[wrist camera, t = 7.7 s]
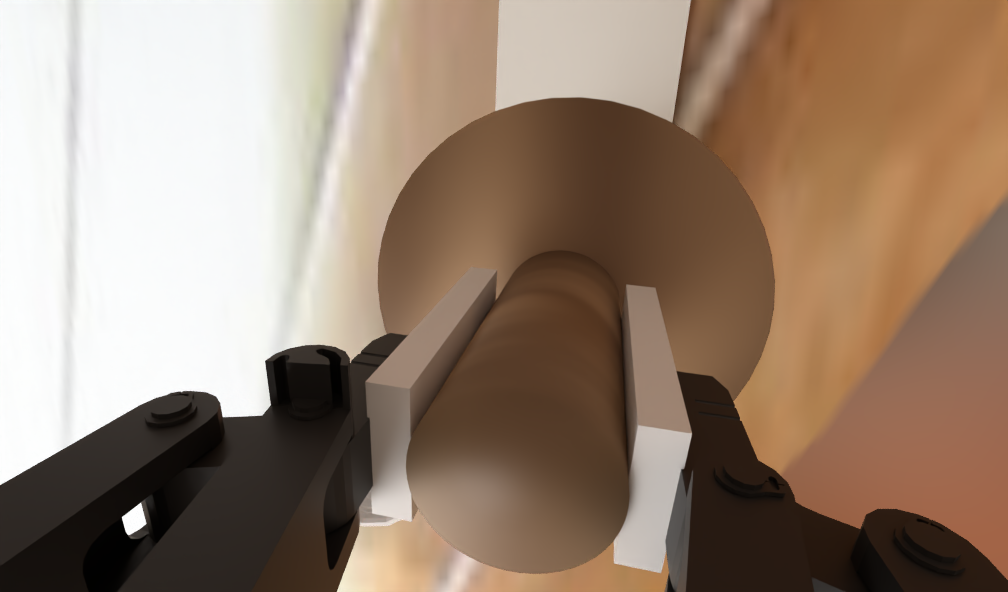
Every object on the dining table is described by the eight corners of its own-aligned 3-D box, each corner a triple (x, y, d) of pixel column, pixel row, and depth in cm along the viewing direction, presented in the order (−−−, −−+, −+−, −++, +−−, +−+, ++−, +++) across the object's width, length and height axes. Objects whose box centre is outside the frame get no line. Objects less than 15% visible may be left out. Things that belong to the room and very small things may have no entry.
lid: (396, 419, 19) (231, 653, 11) (387, 88, 15) (108, 55, 7) (718, 474, 17) (818, 812, 9) (810, 110, 13) (1164, 101, 5)
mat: (496, 131, 36) (494, 132, 35) (503, -66, 32) (501, -69, 31) (668, 140, 34) (669, 141, 33) (700, -70, 30) (701, -73, 29)
